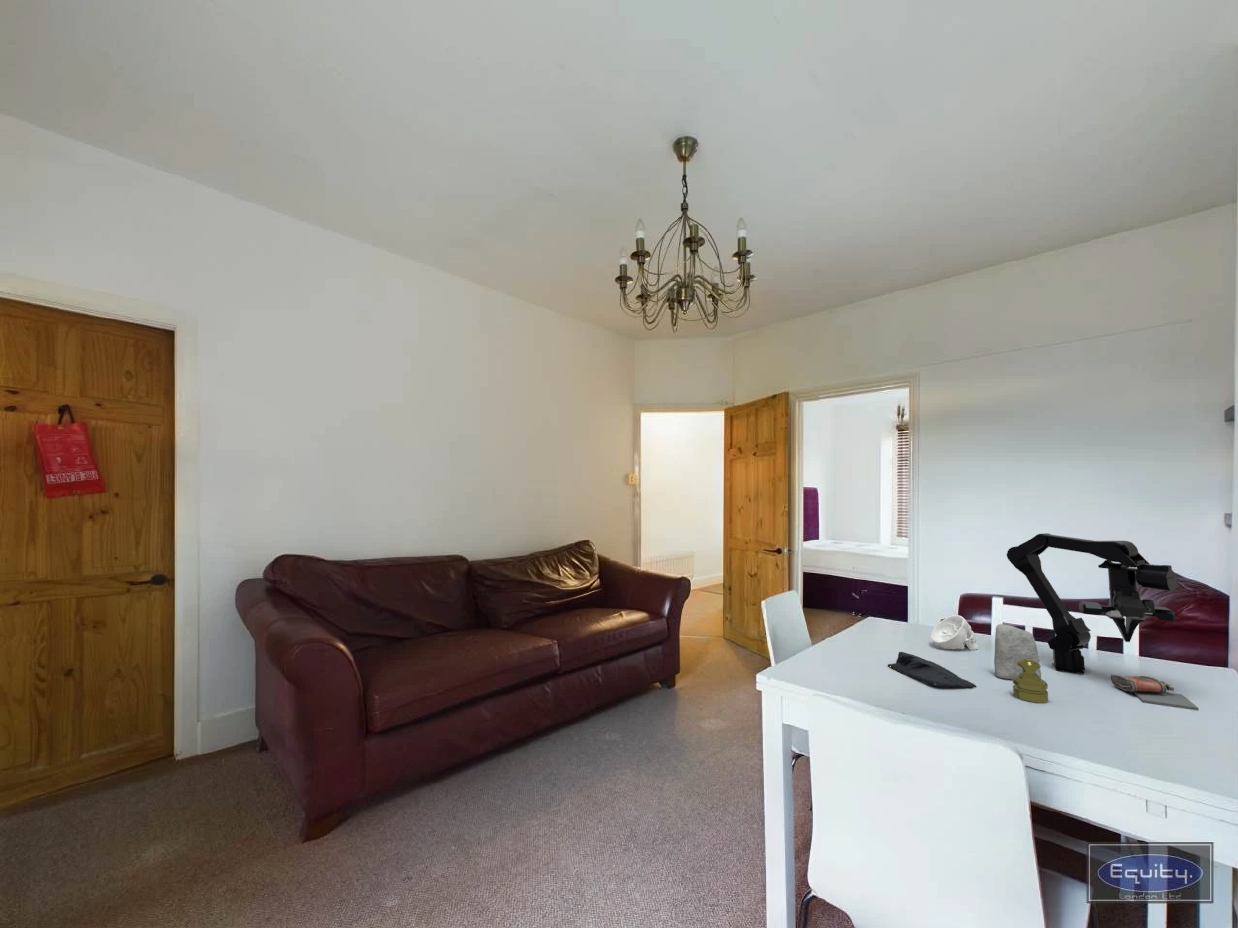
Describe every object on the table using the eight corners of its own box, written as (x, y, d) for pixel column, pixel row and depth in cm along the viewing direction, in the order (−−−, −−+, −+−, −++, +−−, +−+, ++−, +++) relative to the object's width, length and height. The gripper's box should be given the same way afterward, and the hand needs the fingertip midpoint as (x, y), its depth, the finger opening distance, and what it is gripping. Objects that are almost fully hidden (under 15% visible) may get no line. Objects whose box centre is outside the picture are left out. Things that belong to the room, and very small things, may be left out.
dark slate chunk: (929, 692, 142) (928, 674, 142) (883, 666, 164) (883, 650, 164) (982, 690, 143) (981, 672, 143) (929, 664, 165) (929, 649, 165)
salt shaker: (1040, 705, 131) (1037, 665, 132) (1007, 695, 138) (1005, 657, 138) (1054, 699, 135) (1052, 661, 135) (1021, 690, 141) (1019, 653, 142)
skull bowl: (993, 647, 176) (973, 617, 176) (961, 670, 174) (941, 640, 174) (969, 638, 186) (951, 610, 186) (940, 660, 185) (921, 632, 185)
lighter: (1109, 672, 144) (1151, 674, 142) (1111, 684, 143) (1153, 686, 141) (1132, 680, 136) (1177, 682, 134) (1133, 693, 135) (1178, 696, 133)
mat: (1142, 702, 132) (1142, 699, 132) (1129, 689, 141) (1129, 687, 141) (1198, 710, 127) (1198, 707, 127) (1181, 696, 136) (1181, 693, 136)
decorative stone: (1037, 677, 151) (1034, 625, 152) (1044, 684, 145) (1040, 630, 146) (992, 672, 155) (989, 622, 156) (997, 679, 150) (994, 627, 151)
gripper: (1086, 587, 143) (1090, 644, 142) (1181, 593, 134) (1186, 654, 133) (1077, 581, 153) (1080, 634, 152) (1165, 586, 143) (1169, 643, 142)
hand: (1127, 641), depth 144 cm, fingers closed
